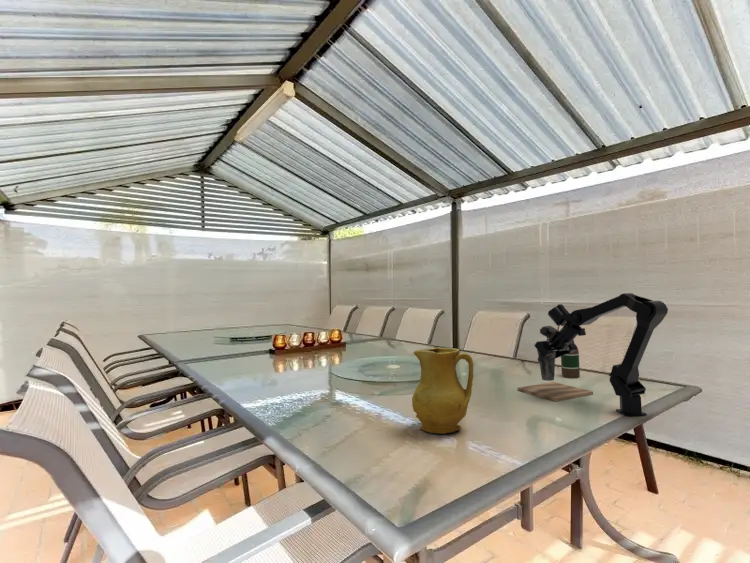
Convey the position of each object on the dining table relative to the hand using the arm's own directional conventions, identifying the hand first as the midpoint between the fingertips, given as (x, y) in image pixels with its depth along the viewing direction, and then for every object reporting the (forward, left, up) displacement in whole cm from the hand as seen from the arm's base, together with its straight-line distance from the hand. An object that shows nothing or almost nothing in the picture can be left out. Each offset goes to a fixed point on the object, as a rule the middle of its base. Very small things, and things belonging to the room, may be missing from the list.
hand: (544, 360), depth 170 cm
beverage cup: (-1, -1, -8) cm, 8 cm away
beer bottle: (+26, -25, -13) cm, 38 cm away
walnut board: (0, -4, -13) cm, 14 cm away
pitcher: (-36, +50, -13) cm, 63 cm away
